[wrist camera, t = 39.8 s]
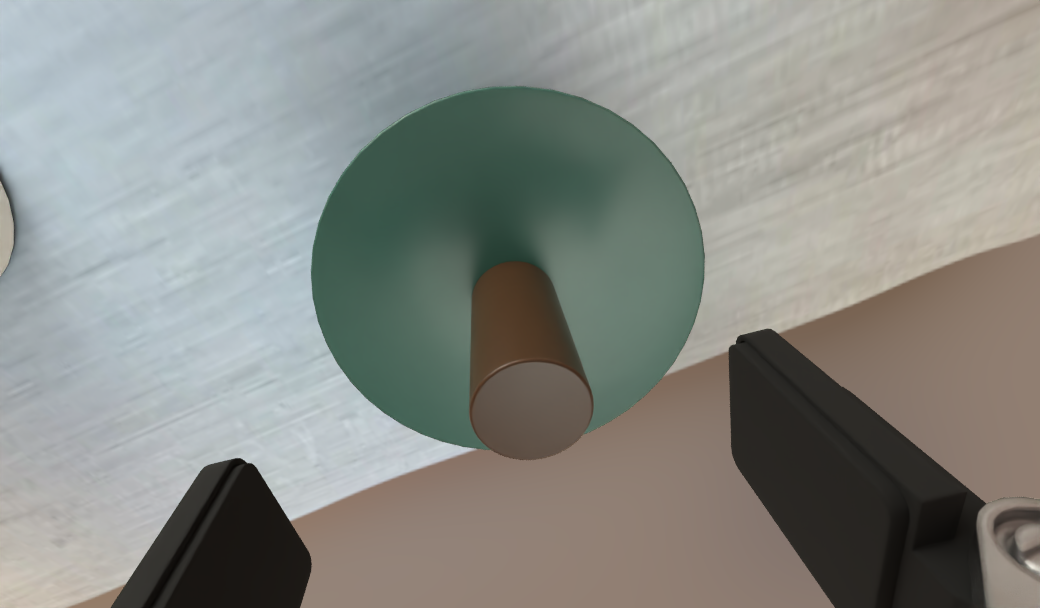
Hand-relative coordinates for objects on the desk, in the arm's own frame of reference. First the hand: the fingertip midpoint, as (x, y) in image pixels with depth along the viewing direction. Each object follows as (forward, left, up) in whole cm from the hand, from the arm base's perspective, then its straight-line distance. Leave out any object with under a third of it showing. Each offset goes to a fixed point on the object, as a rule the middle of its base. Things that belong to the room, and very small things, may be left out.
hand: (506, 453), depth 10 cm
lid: (+1, 0, -8) cm, 8 cm away
